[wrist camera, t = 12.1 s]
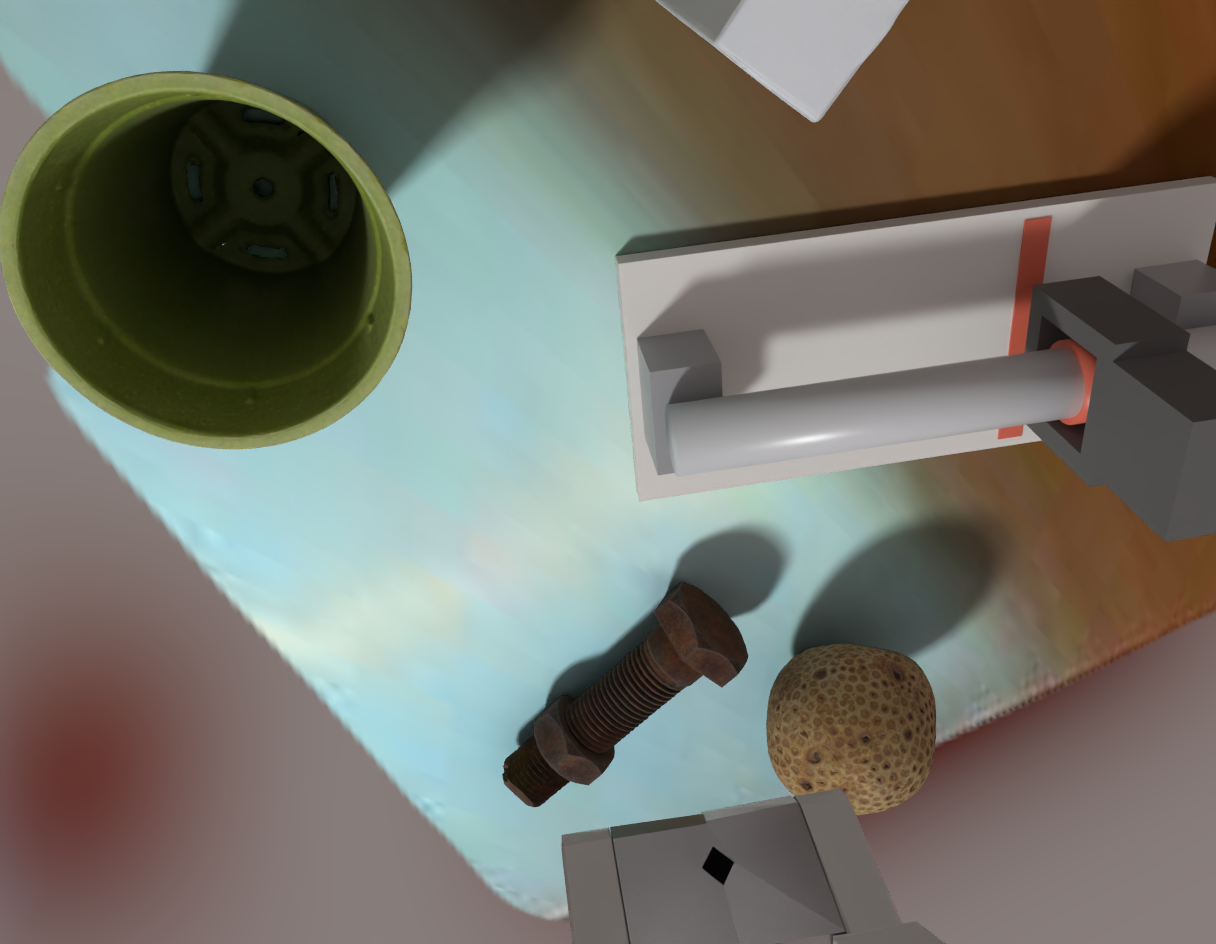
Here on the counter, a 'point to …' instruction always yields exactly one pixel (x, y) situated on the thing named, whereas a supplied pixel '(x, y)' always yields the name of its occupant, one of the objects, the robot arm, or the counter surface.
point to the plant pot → (204, 261)
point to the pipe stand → (888, 333)
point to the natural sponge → (852, 725)
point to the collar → (1134, 405)
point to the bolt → (626, 696)
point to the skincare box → (793, 41)
